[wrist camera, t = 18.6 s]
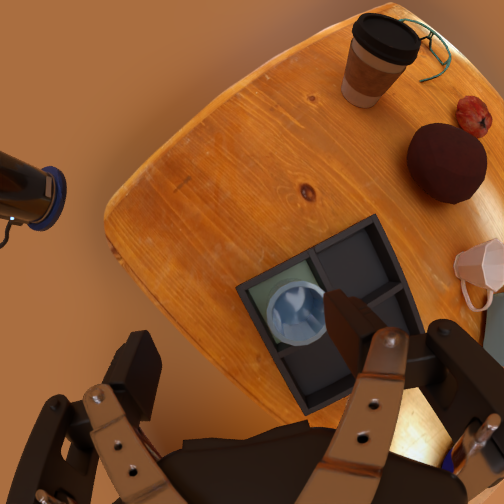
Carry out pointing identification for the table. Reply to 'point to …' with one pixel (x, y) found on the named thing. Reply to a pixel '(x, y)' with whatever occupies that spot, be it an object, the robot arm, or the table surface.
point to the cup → (481, 269)
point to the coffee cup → (377, 57)
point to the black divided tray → (328, 279)
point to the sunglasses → (431, 49)
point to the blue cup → (296, 311)
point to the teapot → (495, 329)
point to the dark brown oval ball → (447, 162)
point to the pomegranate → (473, 116)
